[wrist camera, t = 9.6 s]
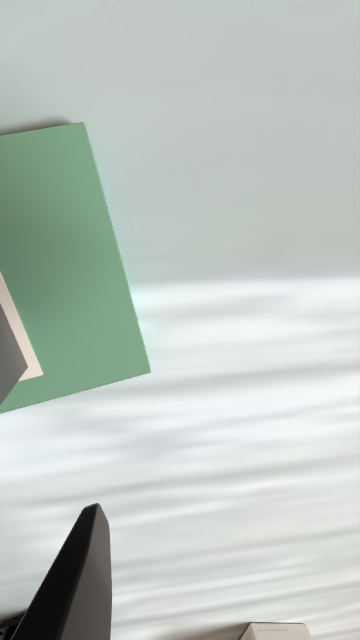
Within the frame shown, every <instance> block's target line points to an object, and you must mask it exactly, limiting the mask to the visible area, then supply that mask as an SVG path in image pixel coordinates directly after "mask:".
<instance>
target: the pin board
mask: <svg viewBox="0 0 360 640" xmlns="http://www.w3.org/2000/svg"><path fill="white" fill-rule="evenodd" d="M0 304H1V306H2V308H3V310H4V313H5V315H6V317H7V319H8V322H9V324H10V326H11V329H12V331H13V333H14V335H15V338H16V340H17V342H18V345H19V347H20V349H21V351H22V354H23V356H24V358H25V360H26V363H27V365H28V368H27V370H26V371H25V372H24V374H23V375H22V376H21V378H20V379H19V381H18V382H17V383H16V385H15V386H14V387H13V389H12V390H11V392H10V393H9V394H8V396H7V397H6V398H5V400H4V401H3V402H2V404H1V405H0V414H1V413H4V412H8V411H12V410H15V409H19V408H23V407H26V406H30V405H34V404H37V403H41V402H45V401H48V400H52V399H56V398H59V397H63V396H66V395H70V394H74V393H77V392H81V391H85V390H88V389H92V388H96V387H99V386H103V385H107V384H110V383H114V382H118V381H121V380H125V379H129V378H132V377H136V376H140V375H143V374H147V373H151V371H150V365H149V361H148V357H147V354H146V350H145V346H144V343H143V339H142V335H141V331H140V328H139V324H138V320H137V317H136V313H135V309H134V305H133V302H132V298H131V294H130V291H129V287H128V283H127V279H126V276H125V272H124V268H123V265H122V261H121V257H120V253H119V250H118V246H117V242H116V239H115V235H114V231H113V227H112V224H111V220H110V216H109V213H108V209H107V205H106V201H105V198H104V194H103V190H102V187H101V183H100V179H99V175H98V172H97V168H96V164H95V161H94V157H93V153H92V149H91V146H90V142H89V138H88V135H87V131H86V128H85V126H84V123H83V122H80V123H74V124H68V125H62V126H56V127H50V128H44V129H38V130H32V131H26V132H20V133H14V134H8V135H2V136H0Z"/></svg>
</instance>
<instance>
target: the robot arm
mask: <svg viewBox="0 0 360 640" xmlns="http://www.w3.org/2000/svg"><path fill="white" fill-rule="evenodd" d="M111 612H112V579H111V555H110V531H109V524H108V521H107V519H106V516H105V514H104V512H103V510H102V508H101V506H100V504H98V503H95V504H92V505H89V506H87V507H85V508H84V509H83V510H82V512H81V514H80V515H79V517H78V519H77V521H76V523H75V524H74V526H73V528H72V530H71V532H70V533H69V535H68V537H67V539H66V541H65V542H64V544H63V546H62V548H61V550H60V551H59V553H58V555H57V557H56V559H55V560H54V562H53V564H52V566H51V568H50V570H49V571H48V573H47V575H46V577H45V579H44V580H43V582H42V584H41V586H40V588H39V589H38V591H37V593H36V595H35V597H34V598H33V600H32V602H31V604H30V606H29V607H28V609H27V611H26V613H25V615H24V616H21V617H18V618H15V619H12V620H10V621H7V622H4V623H1V624H0V640H110V633H111Z"/></svg>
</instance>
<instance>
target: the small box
mask: <svg viewBox="0 0 360 640" xmlns="http://www.w3.org/2000/svg"><path fill="white" fill-rule="evenodd" d="M240 640H312V638H311V635H310V633H309V631H308V629H307V627H306V625H305V624H280V623H276V624H275V623H251V624H250V625H249V626H248V628H247V630H246V631H245V633H244V634H243V636H242V638H241V639H240Z"/></svg>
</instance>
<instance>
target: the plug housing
mask: <svg viewBox="0 0 360 640" xmlns="http://www.w3.org/2000/svg"><path fill="white" fill-rule="evenodd" d="M27 368H28V365H27V363H26V360H25V358H24V356H23V354H22V351H21V349H20V347H19V345H18V342H17V340H16V338H15V335H14V333H13V331H12V329H11V326H10V324H9V322H8V319H7V317H6V315H5V313H4V310H3V308H2V306H1V304H0V405H1V404H2V402H3V401H4V400H5V398H6V397H7V396H8V394H9V393H10V392H11V390H12V389H13V387H14V386H15V385H16V383H17V382H18V381H19V379H20V378H21V376H22V375H23V374H24V372H25V371H26V370H27Z"/></svg>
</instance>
